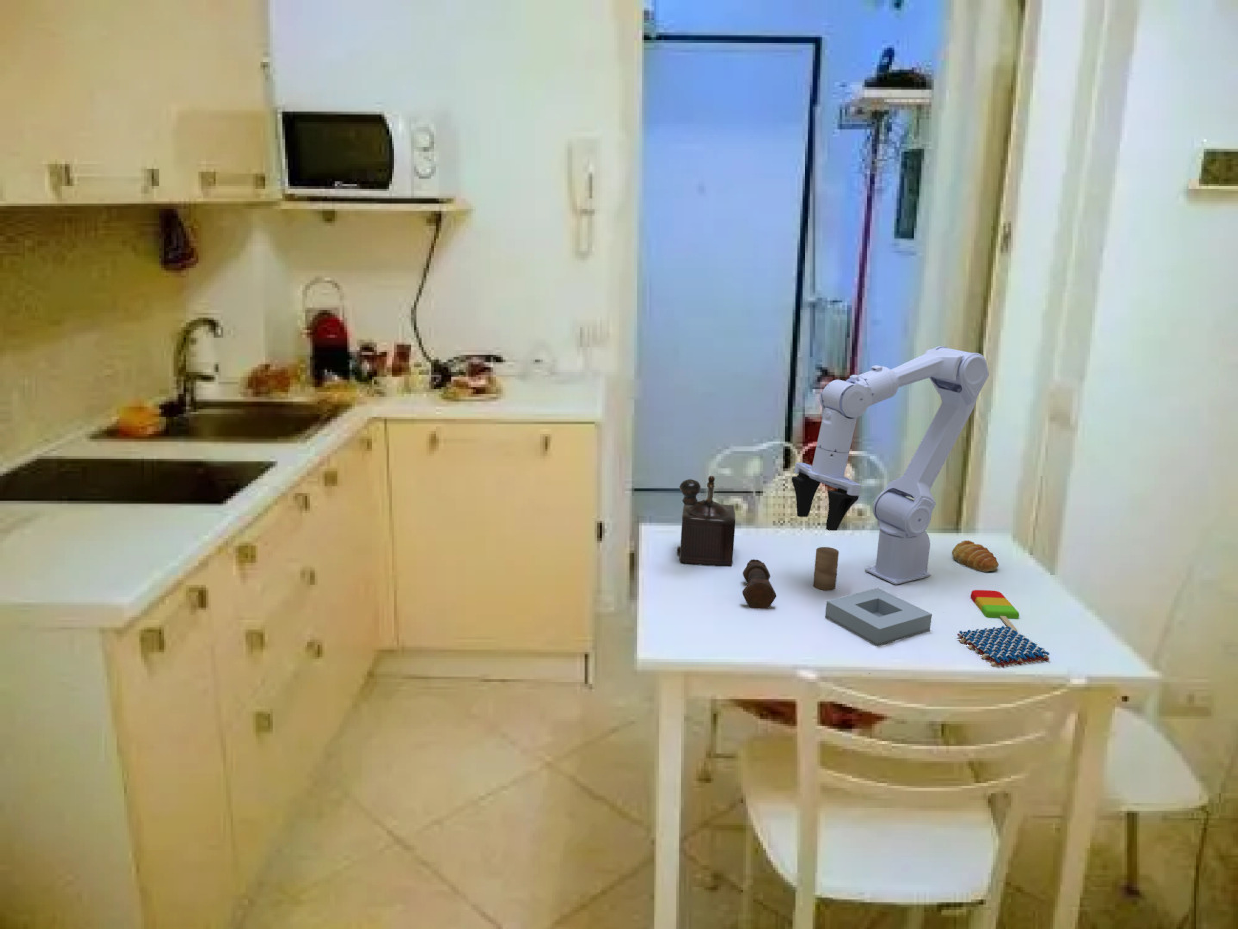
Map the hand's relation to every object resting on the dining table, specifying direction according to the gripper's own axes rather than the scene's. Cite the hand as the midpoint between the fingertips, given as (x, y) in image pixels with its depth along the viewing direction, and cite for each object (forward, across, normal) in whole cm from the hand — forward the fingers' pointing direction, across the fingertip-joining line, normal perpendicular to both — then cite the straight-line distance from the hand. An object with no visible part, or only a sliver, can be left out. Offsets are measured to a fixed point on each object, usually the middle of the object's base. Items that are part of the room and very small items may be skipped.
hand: (816, 523), depth 162 cm
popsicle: (+10, +23, +24) cm, 35 cm away
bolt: (+15, -4, -7) cm, 17 cm away
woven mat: (+11, +32, +13) cm, 37 cm away
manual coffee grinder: (+15, -21, -7) cm, 26 cm away
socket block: (+12, +16, +2) cm, 20 cm away
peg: (+12, 0, +5) cm, 13 cm away
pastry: (+7, +5, +40) cm, 41 cm away
